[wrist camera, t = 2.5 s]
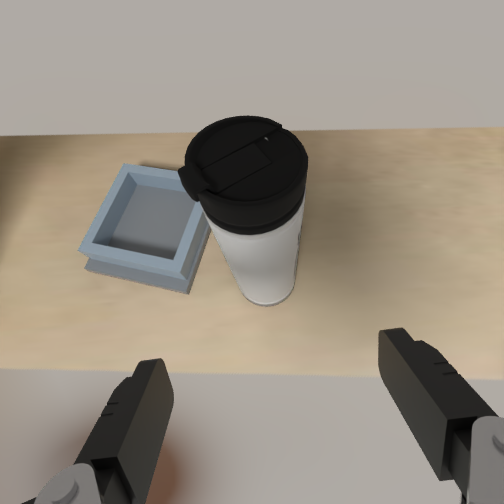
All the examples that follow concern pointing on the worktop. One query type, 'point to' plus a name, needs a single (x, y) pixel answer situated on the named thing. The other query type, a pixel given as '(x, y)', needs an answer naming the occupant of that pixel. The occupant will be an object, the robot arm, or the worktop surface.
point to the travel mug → (251, 200)
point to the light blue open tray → (147, 230)
